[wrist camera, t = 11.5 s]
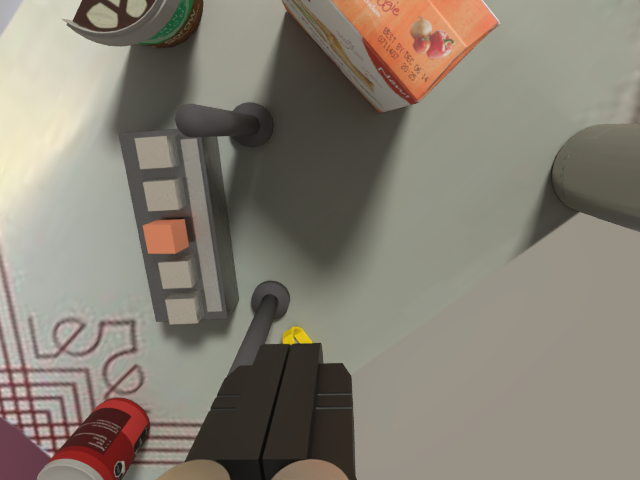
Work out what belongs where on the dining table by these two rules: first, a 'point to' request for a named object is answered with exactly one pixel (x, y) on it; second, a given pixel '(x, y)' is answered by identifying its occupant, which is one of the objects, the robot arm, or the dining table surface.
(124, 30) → the food container
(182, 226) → the breaker paddle
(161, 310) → the breaker strip
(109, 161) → the dining table surface
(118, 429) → the canned food
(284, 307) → the stand
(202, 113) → the stand
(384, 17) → the cracker box
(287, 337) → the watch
